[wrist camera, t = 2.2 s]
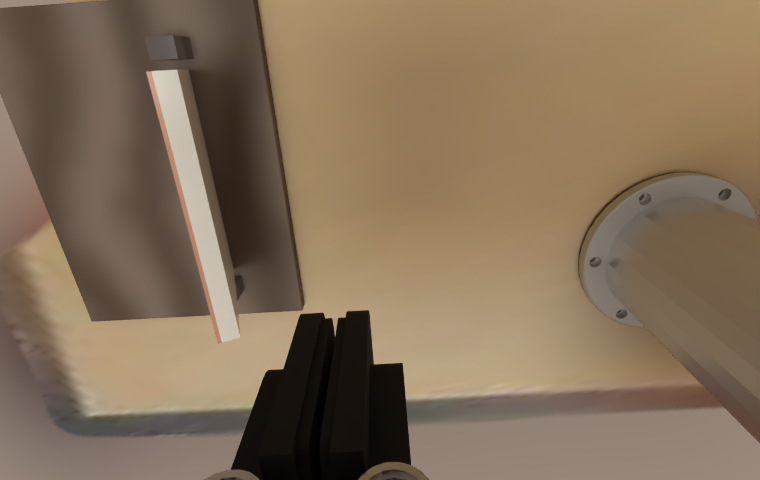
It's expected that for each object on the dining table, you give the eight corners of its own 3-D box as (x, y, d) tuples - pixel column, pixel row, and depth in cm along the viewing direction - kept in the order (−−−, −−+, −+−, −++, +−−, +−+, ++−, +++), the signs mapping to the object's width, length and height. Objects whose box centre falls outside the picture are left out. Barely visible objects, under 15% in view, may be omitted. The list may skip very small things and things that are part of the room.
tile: (177, 69, 18) (146, 71, 18) (240, 337, 23) (217, 343, 23) (189, 69, 26) (168, 71, 26) (234, 269, 32) (217, 272, 31)
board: (256, -8, 25) (239, -16, 22) (304, 303, 34) (297, 326, 31) (-19, 12, 26) (-70, 6, 23) (99, 314, 34) (73, 338, 31)
